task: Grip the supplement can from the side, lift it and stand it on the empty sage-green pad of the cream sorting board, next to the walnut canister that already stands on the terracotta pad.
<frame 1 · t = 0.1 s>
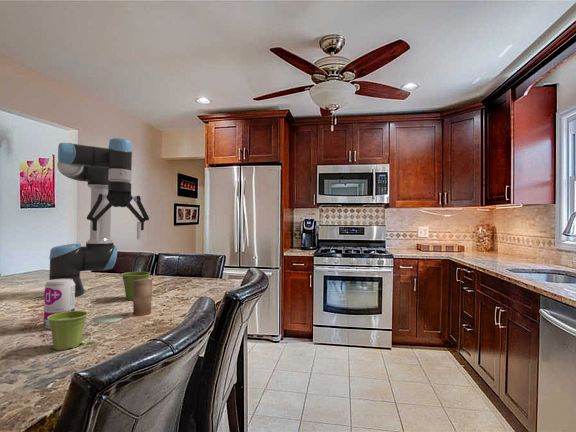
hand: (118, 239, 119), 28 cm above the table, tool pointing down, fingers open, 13 cm apart
plant pot: (67, 347, 90), on the table
plant pot 2: (135, 299, 145), on the table
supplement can: (59, 326, 107), on the table
walnut canister: (142, 313, 118), point 1 cm above the table, touching sorting board
sorting board: (125, 319, 115), on the table
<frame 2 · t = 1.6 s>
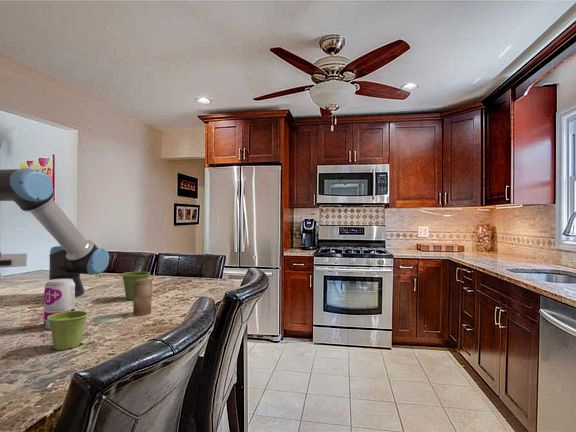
hand: (26, 259, 102), 22 cm above the table, tool horizontal, fingers open, 13 cm apart
nothing on the table moved.
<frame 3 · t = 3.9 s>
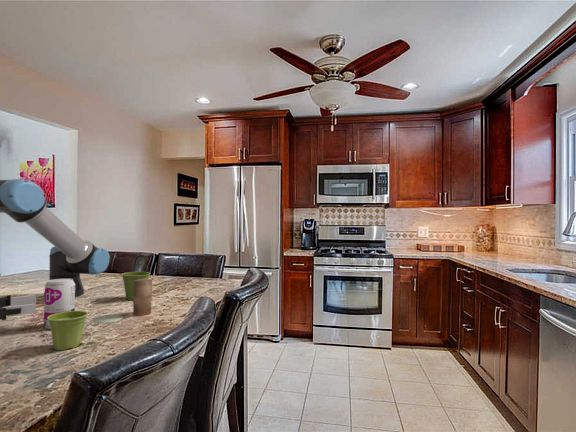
hand: (36, 303, 103), 8 cm above the table, tool horizontal, fingers open, 13 cm apart
nothing on the table moved.
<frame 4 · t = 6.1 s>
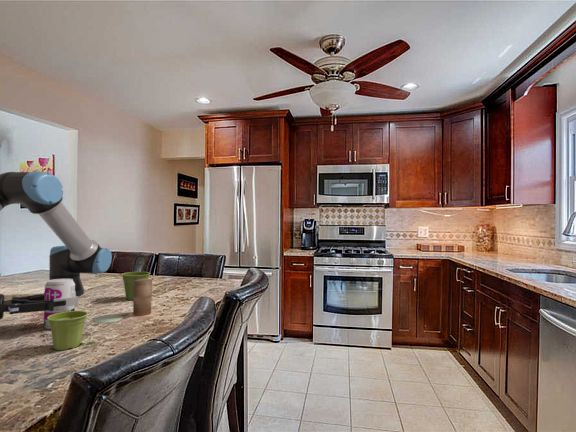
hand: (76, 298, 110), 9 cm above the table, tool horizontal, fingers closed on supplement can, 8 cm apart
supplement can: (59, 326, 107), on the table, touching gripper
everything else where it was.
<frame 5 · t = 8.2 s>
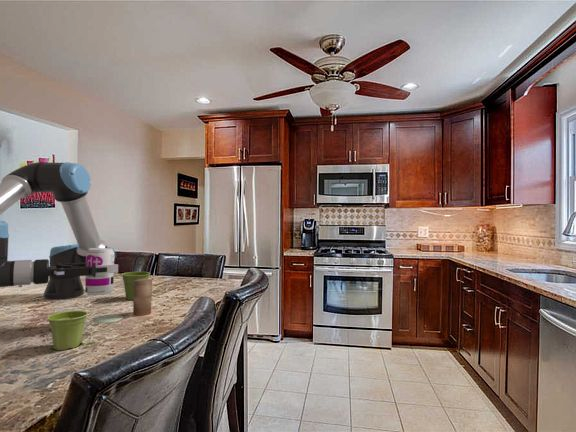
hand: (115, 266, 113), 19 cm above the table, tool horizontal, fingers closed on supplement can, 8 cm apart
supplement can: (99, 293, 110), point 10 cm above the table, touching gripper
everything else where it was.
when the fingers open (11 cm above the table, at t = 10.3 s): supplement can drops 1 cm, resting on sorting board.
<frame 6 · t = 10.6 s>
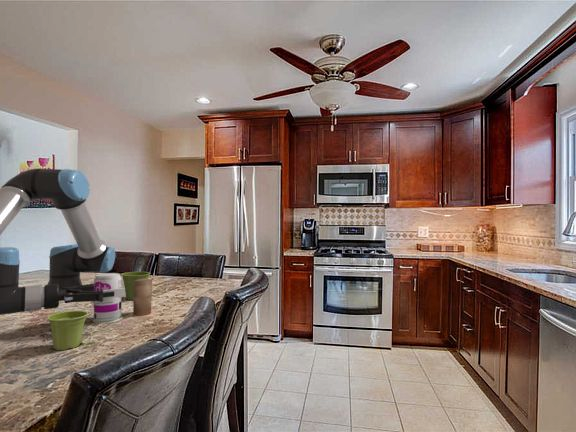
hand: (121, 289, 114), 11 cm above the table, tool horizontal, fingers open, 11 cm apart
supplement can: (107, 319, 111), point 1 cm above the table, touching sorting board
everything else where it was.
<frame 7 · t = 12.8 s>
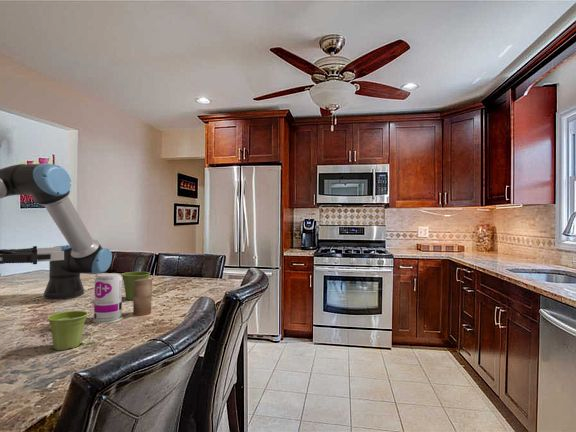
hand: (62, 253, 106), 24 cm above the table, tool horizontal, fingers open, 13 cm apart
nothing on the table moved.
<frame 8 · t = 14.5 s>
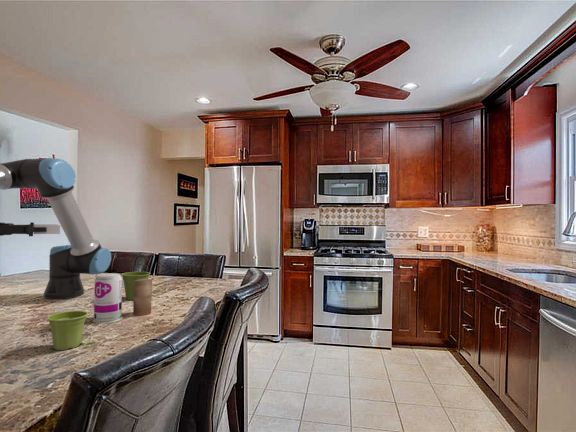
hand: (59, 228, 107), 32 cm above the table, tool horizontal, fingers open, 13 cm apart
nothing on the table moved.
at the end: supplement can inside the target area (0.1 cm from its centre), point 1.1 cm above the table; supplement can tilted 0°; the gripper is holding nothing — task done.
